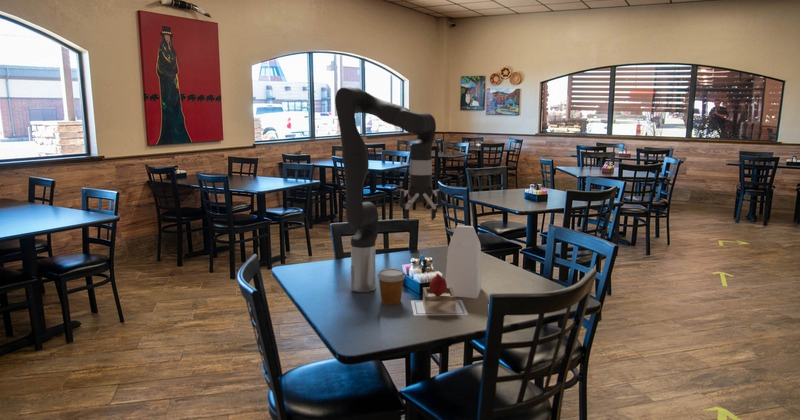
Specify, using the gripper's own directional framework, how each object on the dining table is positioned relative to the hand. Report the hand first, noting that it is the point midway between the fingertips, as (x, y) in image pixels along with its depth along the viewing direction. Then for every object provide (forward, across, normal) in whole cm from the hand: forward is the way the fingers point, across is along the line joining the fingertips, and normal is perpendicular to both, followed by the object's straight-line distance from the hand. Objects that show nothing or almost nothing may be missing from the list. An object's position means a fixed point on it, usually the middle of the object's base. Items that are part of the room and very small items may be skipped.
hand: (420, 219), depth 190 cm
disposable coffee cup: (+30, -10, -2) cm, 32 cm away
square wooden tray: (+29, +6, -8) cm, 31 cm away
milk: (+30, +17, +8) cm, 36 cm away
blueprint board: (+30, +6, -8) cm, 32 cm away
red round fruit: (+25, +6, -8) cm, 27 cm away
